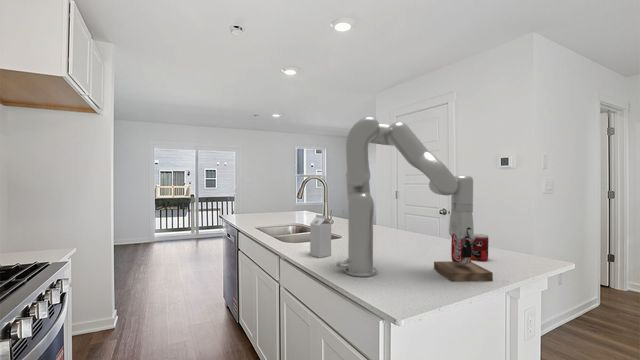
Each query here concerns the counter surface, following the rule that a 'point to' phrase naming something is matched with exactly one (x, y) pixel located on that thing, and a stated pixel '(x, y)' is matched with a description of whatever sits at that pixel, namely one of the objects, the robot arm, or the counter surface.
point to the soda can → (458, 251)
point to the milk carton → (320, 237)
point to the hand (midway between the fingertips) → (461, 254)
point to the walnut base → (463, 271)
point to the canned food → (480, 247)
